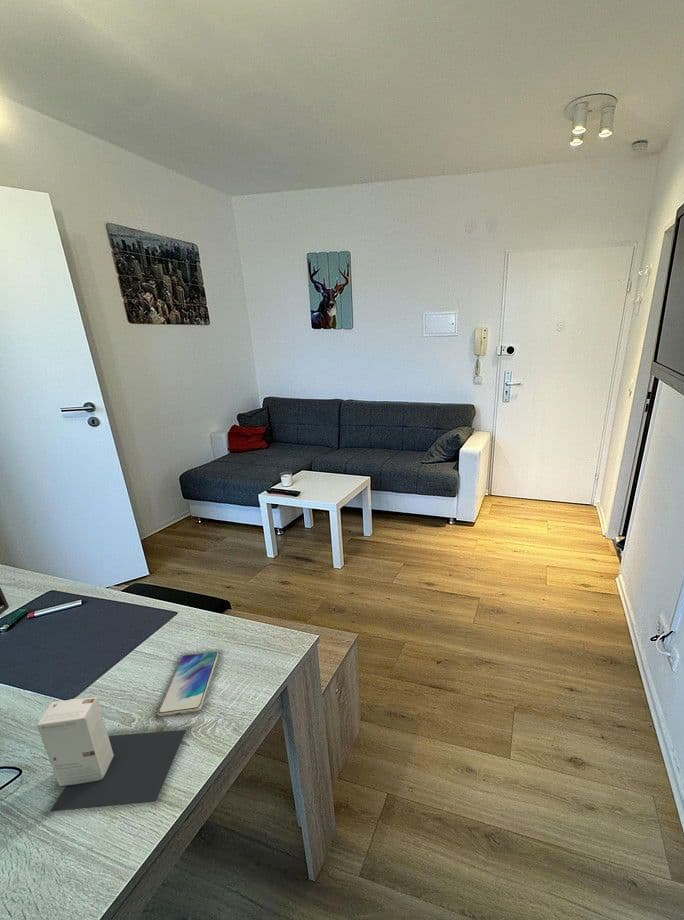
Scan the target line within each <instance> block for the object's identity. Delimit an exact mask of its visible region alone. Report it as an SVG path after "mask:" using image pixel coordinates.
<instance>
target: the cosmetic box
mask: <svg viewBox="0 0 684 920" xmlns="http://www.w3.org/2000/svg"><path fill="white" fill-rule="evenodd" d="M36 727H37V730H38V733H39V735H40V738H41V741H42V743H43V746H44V749H45V752H46V754H47V757H48V760H49V763H50V765H51V768H52V771H53V773H54V776H55V779H56V781H57V784H58V785H57V786H60V787H66V785H74V784H81V783H87V782H93V781H98V780H101V779H103V777H104V775H105V773H106V771H107V769H108V767H109V765H110V763H111V760H112V758H113V756H114V754H113V751H112V748H111V744H110V741H109V737H108V736H109V734H108V730H107V727H106V724H105V721H104V717H103V713H102V709H101V707H100V703H99V698H98V696H93V697H83V698H80V697H79V698H71V699H66V700H59V701H52V702H51V703H50V704H49V706H48V708H46V710H45V711H44V713H43V715H42V716H41V717H40V719H39V721H38V722H37V724H36Z"/></svg>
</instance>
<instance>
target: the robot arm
mask: <svg viewBox="0 0 684 920" xmlns="http://www.w3.org/2000/svg"><path fill="white" fill-rule="evenodd" d="M9 607H10V606H9V603H8V601H7V598H6V596H5V594H4V592H3V590H2V588H1V587H0V616H1V615H2V614H3V613H5V612H6V611H7V610H8V609H9Z"/></svg>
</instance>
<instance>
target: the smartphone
mask: <svg viewBox="0 0 684 920" xmlns="http://www.w3.org/2000/svg"><path fill="white" fill-rule="evenodd" d="M218 658H219V653H218V652H217V651H209V652H199V653H193V654H185V655H182V657H181V658H180V660H179V662H178V665H177V667H176V669H175V672H174V674H173V676H172V678H171V680H170V683H169V685H168V686H167V689H166V692H165V694H164V697H163V699H162V701H161V703H160V706H159V708H158V710H157V716H158V717H163V716H165V717H166V716H172V715H173V716H174V715H177V714H187V713H196V712H198V711H200V710H201V709H202V707H203V704H204V701H205V698H206V695H207V692H208V689H209V686H210V682H211V679H212V676H213V673H214V670H215V667H216V665H217V661H218Z"/></svg>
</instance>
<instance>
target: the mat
mask: <svg viewBox="0 0 684 920" xmlns="http://www.w3.org/2000/svg"><path fill="white" fill-rule="evenodd" d="M186 732H187V729H178V730H165V731H154V732H153V731H152V732H140V733H128V734H115V735H108V737H109V741H110V744H111V748H112V751H113V754H114V756H113V758H112V760H111V763H110V765H109V767H108V769H107V771H106V773H105V775H104V777H103V779H101V780H98V781H93V782H87V783H81V784H74V785H65V786H64V787H63V790H62V791H61V793H60V795H59V796H58V797H57V799H56V801H55V802H54V804H53V805H52V807H51V809H49V810H50V811H49V812H59V811H61V812H62V811H70V810H78V809H79V810H81V809H90V808H91V809H92V808H101V807H102V808H103V807H111V806H112V807H114V806H123V805H124V806H125V805H133V804H134V805H135V804H144V803H155V802H157V801H158V798H159V795H160V793H161V791H162V788H163V786H164V784H165V781H166V779H167V776H168V774H169V772H170V771H171V770H170V769H171V767H172V765H173V762H174V761H175V758H176V755H177V754H178V751H179V748H180V746H181V743H182V741H183V739H184V737H185V734H186Z"/></svg>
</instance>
